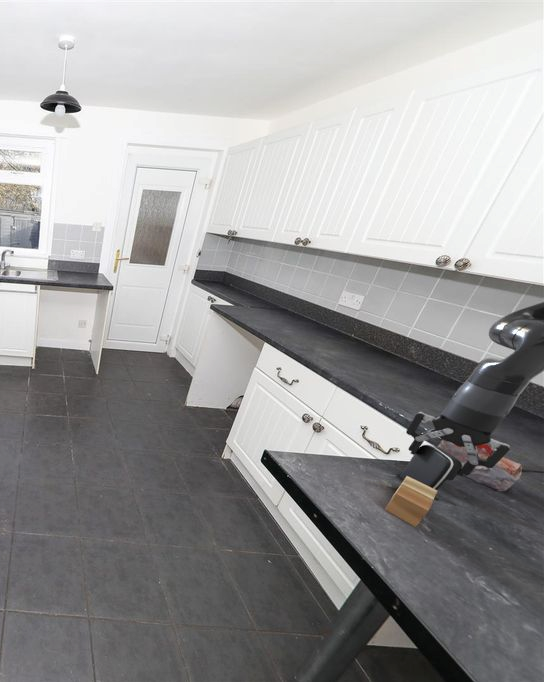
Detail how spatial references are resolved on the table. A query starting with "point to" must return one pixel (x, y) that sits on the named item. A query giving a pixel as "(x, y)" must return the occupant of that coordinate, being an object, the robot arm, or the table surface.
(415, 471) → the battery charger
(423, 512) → the block
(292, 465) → the table surface
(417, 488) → the block
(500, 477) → the food item
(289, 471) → the table surface
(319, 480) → the table surface
